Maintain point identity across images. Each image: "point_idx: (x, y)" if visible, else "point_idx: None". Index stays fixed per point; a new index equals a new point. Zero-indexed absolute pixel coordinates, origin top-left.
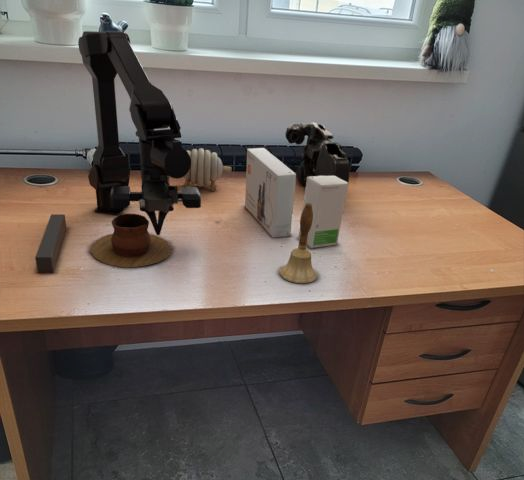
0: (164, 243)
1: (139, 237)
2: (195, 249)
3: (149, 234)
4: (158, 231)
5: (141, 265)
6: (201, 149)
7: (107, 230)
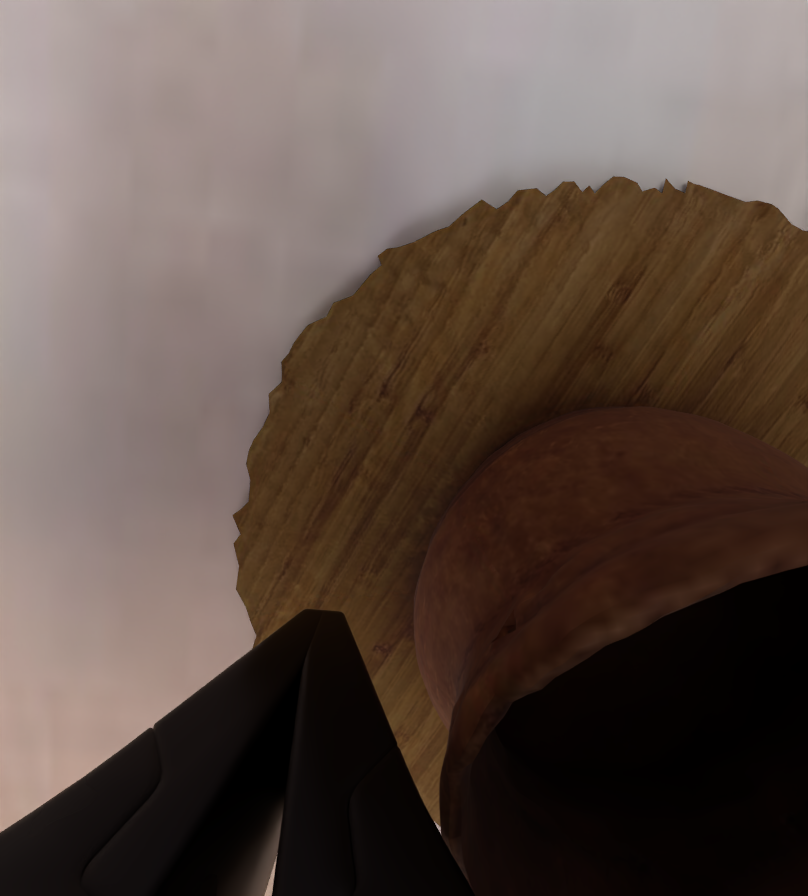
0: None
1: (597, 501)
2: (19, 514)
3: None
4: (306, 634)
5: (554, 206)
6: None
7: None
